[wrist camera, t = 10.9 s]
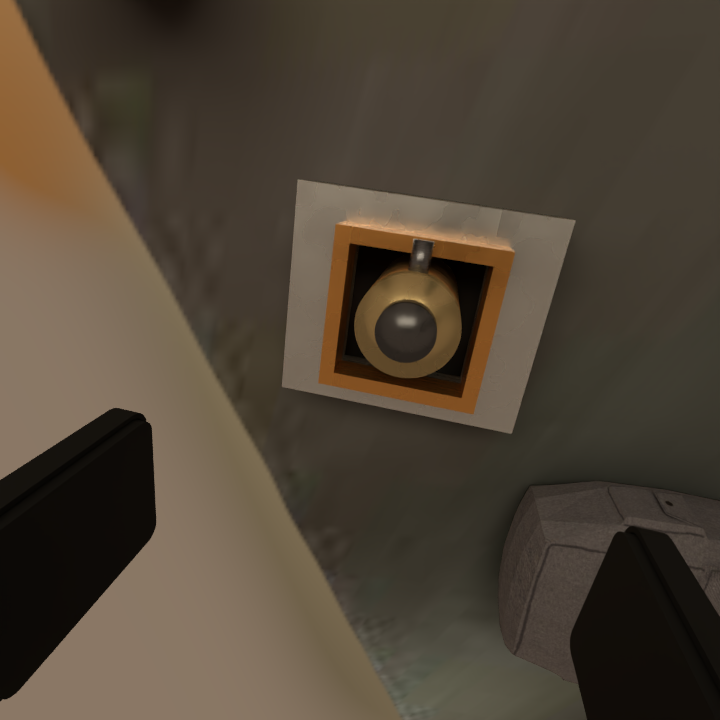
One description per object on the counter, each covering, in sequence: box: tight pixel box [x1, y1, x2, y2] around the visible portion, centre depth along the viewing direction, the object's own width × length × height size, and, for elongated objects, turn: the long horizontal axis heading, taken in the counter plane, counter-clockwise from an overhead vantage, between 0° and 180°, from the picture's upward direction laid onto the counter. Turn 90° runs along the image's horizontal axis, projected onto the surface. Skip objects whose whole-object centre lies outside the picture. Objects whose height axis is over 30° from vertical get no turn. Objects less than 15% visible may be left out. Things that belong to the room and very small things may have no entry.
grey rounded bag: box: [498, 481, 720, 684], centre depth 29 cm, size 15×8×20 cm
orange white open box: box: [282, 180, 575, 434], centre depth 26 cm, size 14×12×6 cm
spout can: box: [354, 238, 462, 378], centre depth 24 cm, size 6×5×9 cm
